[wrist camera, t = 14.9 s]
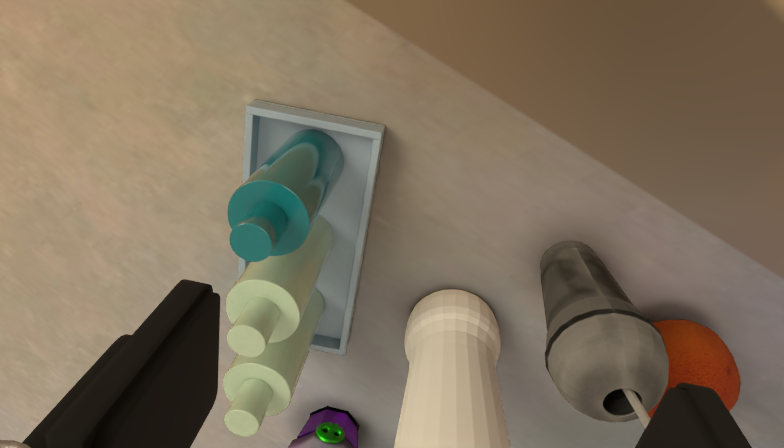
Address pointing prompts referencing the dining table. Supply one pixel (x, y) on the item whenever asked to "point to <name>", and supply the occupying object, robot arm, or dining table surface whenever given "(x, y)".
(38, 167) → the dining table surface
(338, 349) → the tray
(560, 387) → the beverage cup
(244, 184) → the loose bottle
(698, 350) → the fruit
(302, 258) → the bottle
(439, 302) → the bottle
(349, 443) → the potion bottle
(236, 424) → the bottle
